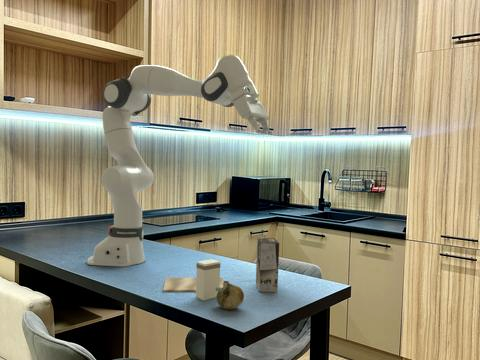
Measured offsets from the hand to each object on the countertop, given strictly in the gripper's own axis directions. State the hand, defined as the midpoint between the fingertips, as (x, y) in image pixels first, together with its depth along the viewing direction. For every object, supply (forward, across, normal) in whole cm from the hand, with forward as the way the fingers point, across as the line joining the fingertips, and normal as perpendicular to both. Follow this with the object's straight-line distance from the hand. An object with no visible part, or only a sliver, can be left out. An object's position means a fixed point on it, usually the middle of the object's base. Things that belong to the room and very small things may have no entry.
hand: (262, 130), depth 149 cm
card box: (+42, +24, -33) cm, 59 cm away
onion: (+48, +30, -24) cm, 61 cm away
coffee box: (+49, +6, -21) cm, 54 cm away
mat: (+38, +16, -41) cm, 58 cm away
